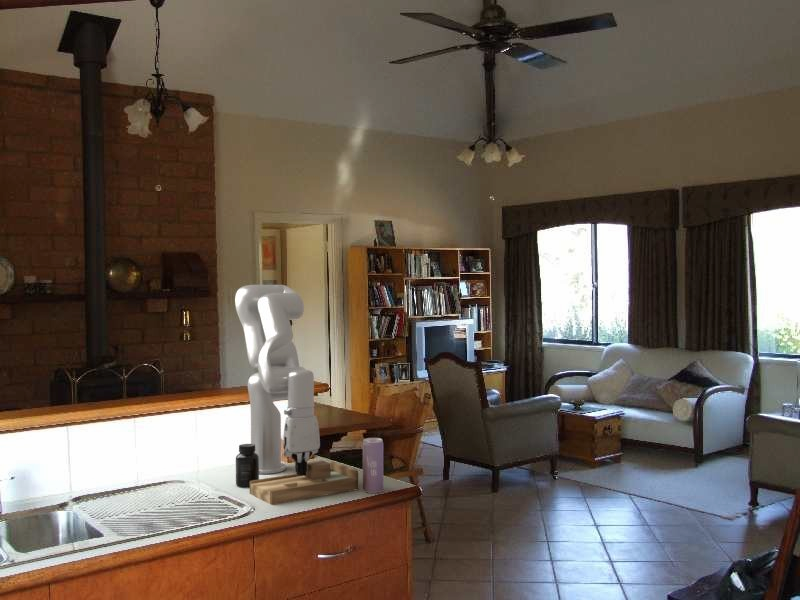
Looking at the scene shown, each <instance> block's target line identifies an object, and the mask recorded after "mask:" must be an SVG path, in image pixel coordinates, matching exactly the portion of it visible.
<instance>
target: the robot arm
mask: <svg viewBox="0 0 800 600" xmlns="http://www.w3.org/2000/svg"><path fill="white" fill-rule="evenodd" d="M234 297H235V299H234V303H235V310H236V313H237V316H238V318H239V321H240V323H241V326H242V328H243V329H242V330H243V333H244V340H245V346H246V353H247V358H248V359H247V360H248V362H249V365H250V366H251V367H252V368H254V369H257V370H258V372H254V373H253V374H251V375H250V377H249V378H248V380H247V390H248V391H247V392H248V398H249V405H250V407H249V408H250V444H255V449H256V451H255V453H256V454H257V455H258V456H259V475H266V474H267V475H268V474H269V475H270V474H276V473H281V472H283V471H285V470H286V468H287V467H286V463H283V462H282V446H283V450H284V451H283V456H284V457H286V458H290V459H292V460H293V461H294V464H295V467H294V470H295V474H297V475H299V476H303V475H304V476H305V475H306V471H307V463H308V462H309V459H310V458H311V456H312V455H315V454H317V453H318V452H319V449H320V447H321V441H320V440H321V439H320V428H319V422H318V418H317V415H315V383H314V382H315V376H314V372H313V371H311V370H310V369H306V368H305V367H303V366H300V363H299V356H298V351H297V347H296V345H295V343H294V342H293V341H292V340H293V338H294V332H293V329H292V328H293V327H292V325H291V320H298V319H300V318H302V317H303V315H304V312H305V311H304V310H305V307H304V306H305V305H304V302H303V299H302V297H301V296H300V293H298V292H296V291H295V290H294V289H292V288H290V287H289V286H287V285H285V284H249V285H243V286H241V287H240V288H238V289H237V291H236V293H235V296H234ZM276 401H287V409H284V410H283V414H284V415H287V417H286V418H285V422H284V427H283V437H282V417H281V412H280V410H279V409H278V407H277V406H276V405H275V403H274V402H276Z"/></svg>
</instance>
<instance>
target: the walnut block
mask: <svg viewBox="0 0 800 600" xmlns="http://www.w3.org/2000/svg"><path fill="white" fill-rule="evenodd" d="M305 477H307V478H309V479H312V480H315V479H322V478H328V477H331V462H328V461H325V460H316V461H307V471H306V475H305Z"/></svg>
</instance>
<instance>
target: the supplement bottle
mask: <svg viewBox="0 0 800 600" xmlns="http://www.w3.org/2000/svg"><path fill="white" fill-rule="evenodd" d="M255 451H256V449H255V444H251V443H242V444H239V446H238V452H239V453H238V454H237V455H236V456H235V485H236V486H237V487H239V488H250V481H253V480H259V479H260V474H259V456H258V455H257V454H256V453H255Z"/></svg>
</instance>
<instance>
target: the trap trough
mask: <svg viewBox="0 0 800 600" xmlns="http://www.w3.org/2000/svg"><path fill="white" fill-rule="evenodd" d="M330 464H331V477H328V478H322V479H315V480H312V479H309V478H307V477H305V476H304V475H303V476H299V475H297V474H296V473H292V474H286V475H280V476H273V477H266V478H259V480H253V481H250V487H249V494H250V495H252V496H254V497H256V498H258V499H260V500H262V501H264V502H266V503H267V504H270V505H278V504H284V503H289V501H290V502H293V501H294V500H295V501H299V500H305V499H306V498H307V499H311V498H310V497H312V498H317V497H316V496H318V497H322V496H321V495H323V496H327V495H326V494H329V495H333V494H332V493H335V494H339V493H338V492H340V493H344V492H343V491H346V492H350V491H349V490H351V491H355V490H354V489H357V490H359V470H358V469H354V468H352V467H349V466H347V465H344V464H341V463H339V462H336V461H331V462H330ZM295 501H294V502H295Z"/></svg>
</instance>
